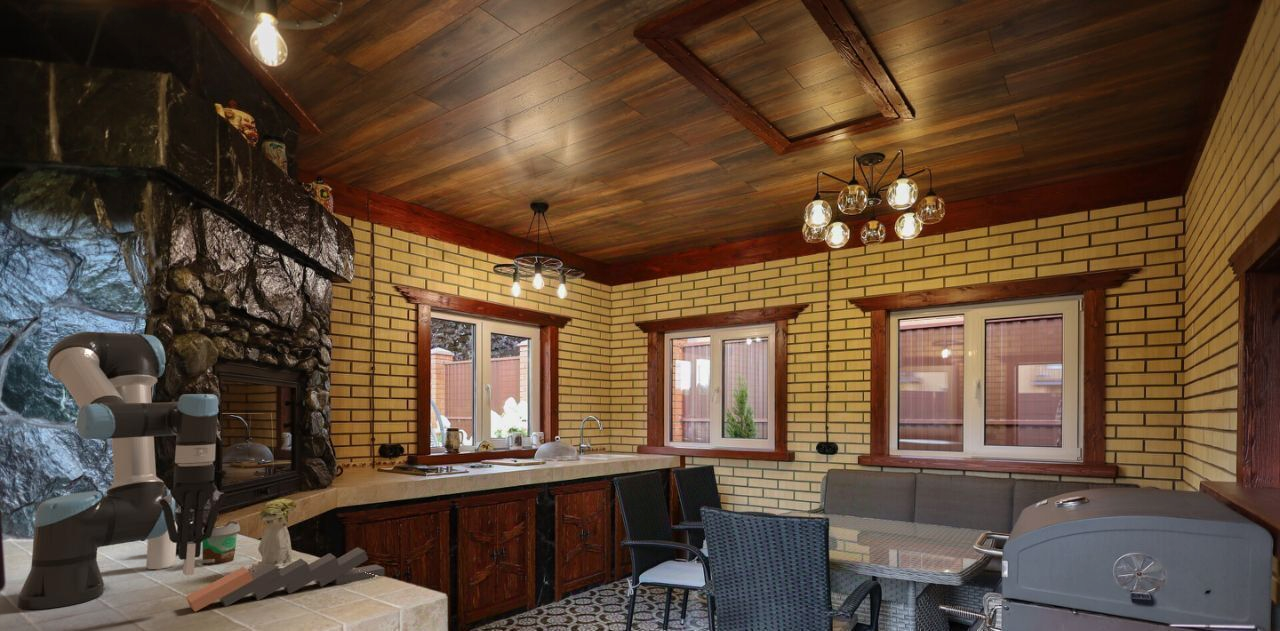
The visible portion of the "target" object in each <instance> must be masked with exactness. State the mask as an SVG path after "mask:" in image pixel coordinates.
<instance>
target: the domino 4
mask: <svg viewBox="0 0 1280 631" xmlns="http://www.w3.org/2000/svg"><path fill="white" fill-rule="evenodd" d="M337 559H338V558H337V556H335V555H333V554H332V553H330V552H329V553H327V554H326V555H323V556H321V557H320V558H318V559H316V560H314V561H313V562H310V563H308V566H309V568H310V571H311V572H309V573H307V574H305V575H303V576H302V577H300V578H298V579H296V580H294V581H292V582H291V583H289V584H287V585H285V586H283V587H282V588H283V590H285V591H286V592H287V594H288V595H290V594H292V593H294V592H296V591H297V590H299V589H301V588H303V587H304V586H307V585H308V584H310V583H312V582H313V581H314V580H315V579H317V578H319V577H321V576H322V575H324V574H326V573H328V572H330V571H331V570H333V569H335V568H337V567H338V566H339V563H338V561H337Z"/></svg>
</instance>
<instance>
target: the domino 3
mask: <svg viewBox="0 0 1280 631" xmlns="http://www.w3.org/2000/svg"><path fill="white" fill-rule="evenodd" d="M296 560H297V561H295V562H293V563H291V564H289V565H287V566H286V567H284V568H279V569H278V570H279V572H280V575H281V577H279V578H277V579H275V580H273V581H272V582H270V583H268V584H266V585H264V586H263V587H261V588H259V589H257V590H255V591H254V592H252V593H251V595H252V596H253V597H254V598H255V599H256V598H257V599H260V600H261V599H264V598H266V597H267V596H268V595H270V594H273V593H274V592H276V591H278V590H280V589H282V588H283V586H285V585H287V584H289V583H291V582H292V581H294V580H296V579H298V578H300V577H302V576H303V575H305V574H307V573H309V572H311V571H310V568H309V566H308V565H309V563H308V562H307V561H305V559H303V558H299V559H296ZM257 599H256V600H257Z"/></svg>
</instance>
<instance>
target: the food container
mask: <svg viewBox="0 0 1280 631" xmlns="http://www.w3.org/2000/svg"><path fill="white" fill-rule="evenodd" d="M203 531H204V528H202V533H203ZM240 531H241V526H240V524H239V521H236V520H227V523H225V524H224V525H217V526H214V528H213V532H212V535H211V537H210V538H207V539H205V540H203V541H202V542H201V549H202V566H203V565H208V566H216V565H217V566H218V565H222V564H227V563H230V562H232V561H234V559H235V552H236V545H237V538H238V532H240Z"/></svg>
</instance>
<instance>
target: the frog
mask: <svg viewBox="0 0 1280 631" xmlns="http://www.w3.org/2000/svg"><path fill="white" fill-rule="evenodd" d="M296 508H297V503H296V502H295V500H294V499H289V498H278V499H277V498H276V499H275V500H271V501H268V502H266V503H265V505H264V506H263V507H262V508H261V510H260V513H259V516H260V520H261V522H262V521H263V522H267V525H266V526H265V529H264V531H263V534H262V537H261V538H260V539H259V544H258V548H257V550H258V552H259V553H260V556H261V558H262V559H261V561H258V562H257V563H255V562H256V560H255V559H254V560H253V562H254V563H252V565H251V567H249V571H250V574H251V573H253V572H255V571H257V570H258V569H260V568H262V567H264V566H266V565H268V564H270V563H271V564H273V565H275V566H276V567H278V570H280V569H282V568H284V567H286V566H287V565H289V564H291V563H293V562H295V561H297V560H298V559H294V558H293V550H292V543H291V536H290V533H289V532H290V531H289V530H288V527H287V526H286V525H288V522H289V516H290V515H291V514H292V513H293V512H294V511H295V510H296Z"/></svg>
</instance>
